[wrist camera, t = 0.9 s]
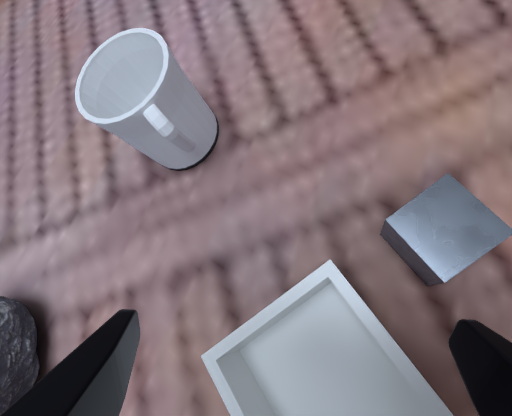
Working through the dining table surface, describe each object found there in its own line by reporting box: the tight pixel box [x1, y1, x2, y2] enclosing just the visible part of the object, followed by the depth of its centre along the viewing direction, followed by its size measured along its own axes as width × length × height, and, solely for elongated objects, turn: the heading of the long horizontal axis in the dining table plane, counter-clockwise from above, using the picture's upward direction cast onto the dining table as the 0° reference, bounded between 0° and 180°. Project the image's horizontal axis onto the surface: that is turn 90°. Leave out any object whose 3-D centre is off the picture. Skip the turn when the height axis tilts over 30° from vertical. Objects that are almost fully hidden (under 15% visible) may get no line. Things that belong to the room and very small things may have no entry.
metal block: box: [380, 173, 512, 286], centre depth 21 cm, size 5×5×5 cm
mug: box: [75, 28, 218, 170], centre depth 29 cm, size 11×9×10 cm
